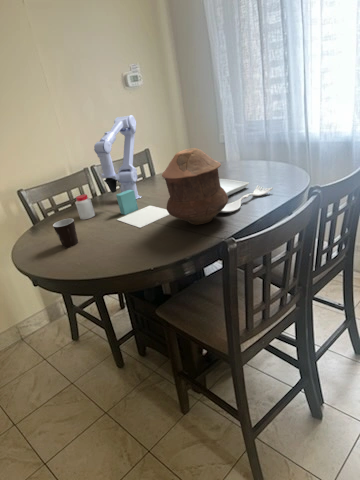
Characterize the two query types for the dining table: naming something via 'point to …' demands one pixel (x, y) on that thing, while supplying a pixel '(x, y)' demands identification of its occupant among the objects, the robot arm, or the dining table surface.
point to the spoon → (237, 204)
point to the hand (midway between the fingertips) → (114, 192)
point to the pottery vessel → (194, 187)
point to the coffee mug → (66, 232)
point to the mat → (144, 216)
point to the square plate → (232, 185)
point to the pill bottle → (84, 207)
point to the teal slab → (127, 202)
